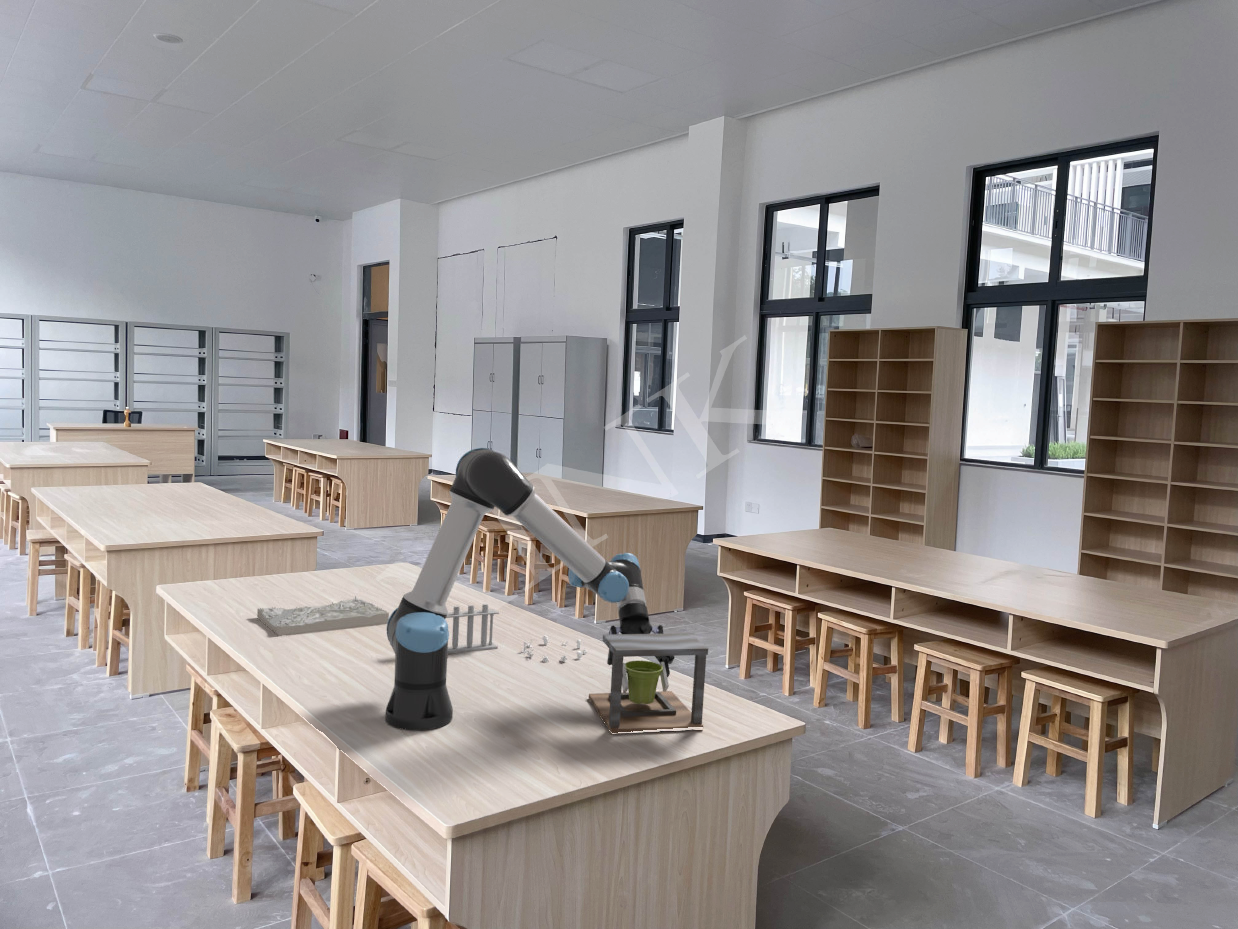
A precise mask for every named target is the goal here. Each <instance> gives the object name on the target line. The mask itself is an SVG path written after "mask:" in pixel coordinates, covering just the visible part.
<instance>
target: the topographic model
mask: <svg viewBox="0 0 1238 929" xmlns="http://www.w3.org/2000/svg"><path fill="white" fill-rule="evenodd" d="M256 611H257V612H256V613H257V614H256V617H258V618H259V619H260V620H261V621H262V622H261V621H260V620H259V619H258V618H257V619H258V620H259V621H260V622H261V623H263V624H264V623H265V624H266V625H267V626H268V628H269V629H270V630H271V631H272V630H273V631H274V632H275V633H274V632H273V631H272V632H273V633H274V634H276V635H277V636H278V635H279V636H278V637H283V636H282V635H286V636H293V635H301V634H311V633H318V632H328V631H335V630H345V629H354V628H363V627H370V626H380V625H387V623H388V620H389V617H390V613H389V612H388V611H387V610H385V609H383V608H381V607H379V606H376V605H375V604H373V603H370V602H369V601H366V600H364V599H363V598H357V596H356V595H355V596H354V598H352V599H351V598H350V599H346V600H340V601H339V602H336V603H333V602H332V603H330V604H324V605H323V604H322V605H316V606H308V605H307V606H304V607H298V606H296V607H295V608H289V609H287V608H283V607H280V608H279V607H277V608H276V607H275V606H274V607H265V608H264V607H260V608H257V610H256ZM265 624H264V625H265ZM266 625H265V626H266Z"/></svg>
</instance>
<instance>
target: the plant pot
mask: <svg viewBox="0 0 1238 929" xmlns="http://www.w3.org/2000/svg"><path fill="white" fill-rule="evenodd" d="M624 663H625V668H626V674H627V680H628V687H629V688H628V690H627V692H629V700H630V701H631V702H633V703H636V704H640V703H644V704H650V703H653V702H654V698H655V693H656V692H657V688H658V682H659V678H660V673H661V671H662V670H663V667H662V666H661V665H660V663H658V662H654V661H649V660H630V661H626V662H624Z"/></svg>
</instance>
